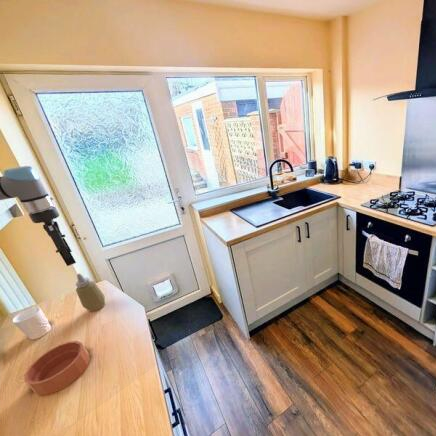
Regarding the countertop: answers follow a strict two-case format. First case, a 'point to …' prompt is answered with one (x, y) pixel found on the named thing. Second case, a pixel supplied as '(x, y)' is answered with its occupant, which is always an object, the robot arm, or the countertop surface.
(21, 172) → the robot arm
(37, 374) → the bowl
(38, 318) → the white cup
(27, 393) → the countertop surface
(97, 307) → the squeeze bottle
